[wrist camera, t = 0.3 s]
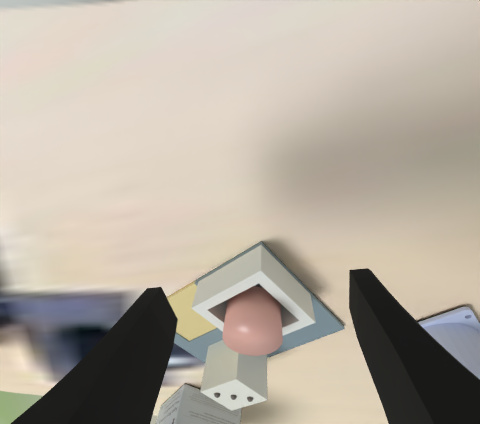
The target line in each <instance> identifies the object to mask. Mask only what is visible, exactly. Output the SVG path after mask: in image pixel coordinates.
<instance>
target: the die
mask: <svg viewBox="0 0 480 424" xmlns="http://www.w3.org/2000/svg"><path fill="white" fill-rule="evenodd" d="M200 392H201V393H203V394H204V395H206V396H208V397H209V398H211V399H213V400H214V401H216V402H218V403H219V404H221V405H223V406H225V407H226V408H228V409H230V410H231V411H232V410H236V409H239V408H242V407H246V406H249V405H253V404H256V403H259V402H263V401H266V400H267V354H266V355H261V356H249V355H244V354H240V353H237V352H235V351H233V350H231V349H230V348H229V347H227V346H226V344H225V343H224V341H223V340H221V341H219V342H217V343H214V344H212V345H210V346H208V351H207V357H206V362H205V368H204V374H203V379H202V385H201V390H200Z"/></svg>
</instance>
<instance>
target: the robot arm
mask: <svg viewBox="0 0 480 424" xmlns="http://www.w3.org/2000/svg"><path fill="white" fill-rule="evenodd" d="M349 309H350V313H351V316H352V320H353V324H354V328H355V332H356V335H357V338H358V341H359V344H360V347H361V349H362V352H363V355H364V357H365V360H366V363H367V365H368V368H369V371H370V373H371V376H372V378H373V381H374V384H375V386H376V389H377V392H378V394H379V397H380V400H381V402H382V405H383V408H384V411H385V414H386V417H387V420H388V423H389V424H480V323H479V321H478V320H477V318H476V316H475V315H474V313H473V311H472V310H471V309H470V308H469V307H461V308H458V309H455V310H452V311H449V312H446V313H443V314H440V315H437V316H435V317H432V318H429V319H426V320H423V321H420V322H417V321H416V320H415V319H414V318H413V317H412V316H411V315H410V314H409V313H408V312H407V311H406V310H405V309H404V308H403V307H402V306H401V305H400V304H399V302H398V301H397V300H396V299H395V298H394V297H393V296H392V295H391V294H390V293H389V291H388V290H387V289H386V288H385V287H384V286H383V285H382V283H381V282H380V281H379V280H378V279H377V277H376V276H375V275H374V274H373V272H372V271H371V270H369V269H357V270H350V287H349ZM177 322H178V319H177V317H176V315H175V313H174V311H173V309H172V307H171V305H170V303H169V301H168V299H167V297H166V295H165V294H164V292H163V290H162V288H161V287H157V288H147V289H146V290H145V291H144V293H143V294H142V295H141V296H140V297H139V298H138V299H137V300H136V301H135V302H134V304H133V305H132V306H131V307H130V308H129V309H128V310H127V312H126V313H125V314H124V315H123V316H122V317H121V318H120V319H119V321H118V322H117V323H116V324H115V325H114V326H113V327H112V328H111V329H110V331H109V332H108V333H107V334H106V335H105V336H104V337H103V338H102V339H101V340H100V341H99V342H98V343H97V345H96V346H95V347H94V348H93V349H92V350H91V351H90V352H89V353H88V354H87V355H86V356H85V357H84V358H83V359H82V360H81V361H80V362H79V363H78V364H77V365H76V366H75V367H74V368H73V369H72V370H71V371H70V372H69V373H68V374H67V375H66V376H65V377H64V378H63V379H62V380H61V381H59V382H58V383H57V384H56V385H55V386H54V387H53V388H52V389H51V390H50V391H49V392H47V393H46V394H45V395H44V396H43V397H42V398H41V399H40V400H38V401H37V402H36V403H35V404H34V405H32V406H31V407H30V408H29V409H28V410H26V411H25V412H24V413H23V414H22V415H20V416H19V417H18V418H17V419H16V420H14V421H13V422H12V423H11V424H150V421H151V418H152V414H153V411H154V407H155V404H156V400H157V397H158V394H159V391H160V388H161V384H162V381H163V378H164V375H165V371H166V368H167V365H168V362H169V358H170V355H171V352H172V348H173V344H174V339H175V334H176V328H177Z"/></svg>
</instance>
